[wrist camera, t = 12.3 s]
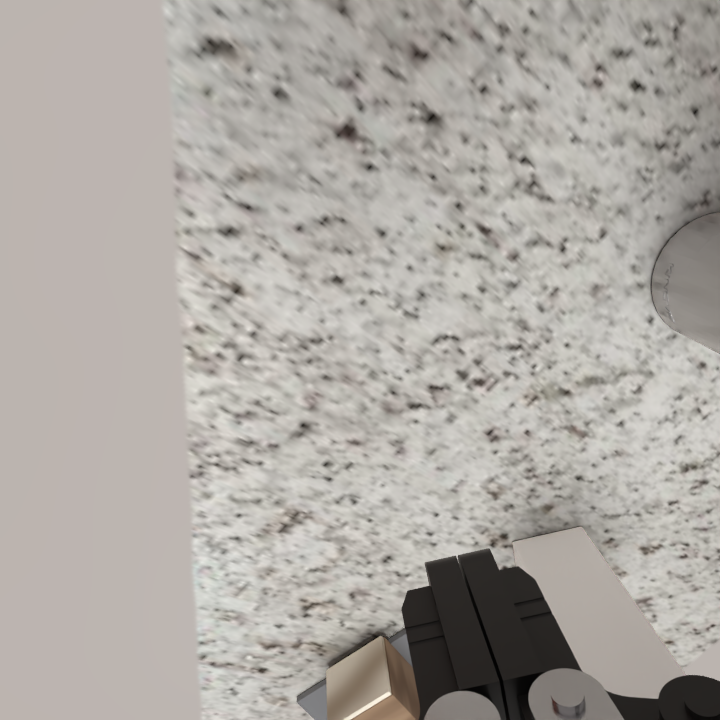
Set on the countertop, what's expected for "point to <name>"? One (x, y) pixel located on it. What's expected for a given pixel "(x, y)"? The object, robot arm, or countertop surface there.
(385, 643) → the light wood block
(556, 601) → the milk
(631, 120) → the countertop surface
